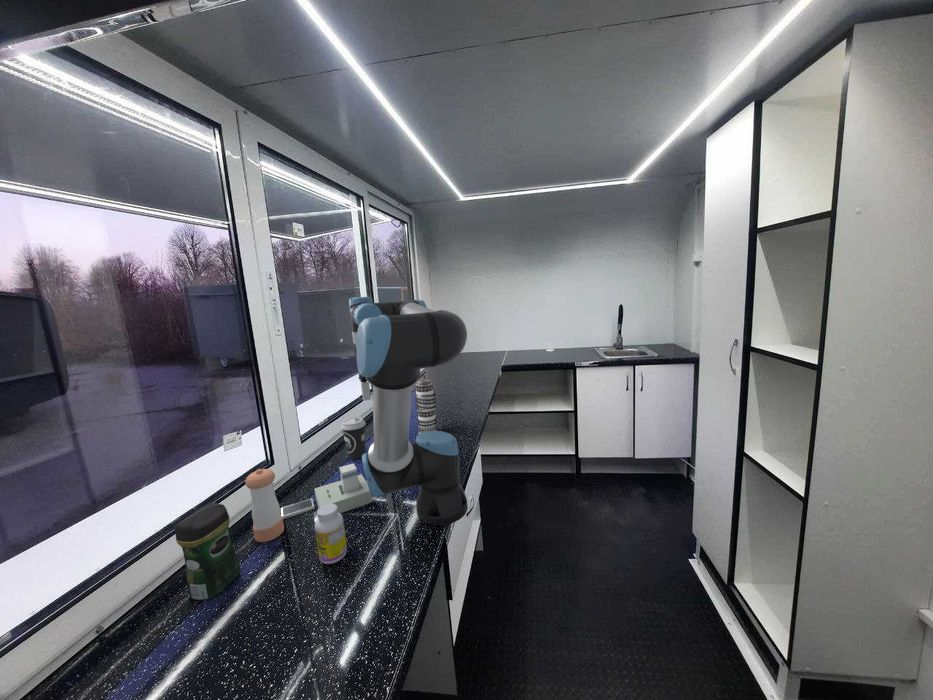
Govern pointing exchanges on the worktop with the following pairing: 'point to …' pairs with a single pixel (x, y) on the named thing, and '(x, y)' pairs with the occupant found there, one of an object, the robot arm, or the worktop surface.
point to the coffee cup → (354, 436)
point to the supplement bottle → (330, 534)
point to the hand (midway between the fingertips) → (372, 404)
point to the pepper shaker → (264, 506)
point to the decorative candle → (425, 406)
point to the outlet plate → (344, 502)
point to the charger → (349, 478)
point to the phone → (297, 508)
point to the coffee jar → (207, 551)
